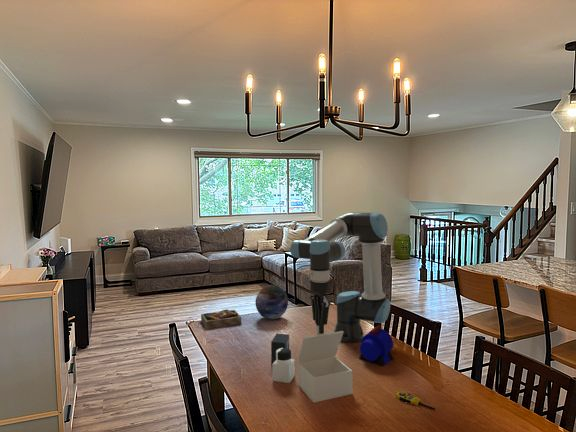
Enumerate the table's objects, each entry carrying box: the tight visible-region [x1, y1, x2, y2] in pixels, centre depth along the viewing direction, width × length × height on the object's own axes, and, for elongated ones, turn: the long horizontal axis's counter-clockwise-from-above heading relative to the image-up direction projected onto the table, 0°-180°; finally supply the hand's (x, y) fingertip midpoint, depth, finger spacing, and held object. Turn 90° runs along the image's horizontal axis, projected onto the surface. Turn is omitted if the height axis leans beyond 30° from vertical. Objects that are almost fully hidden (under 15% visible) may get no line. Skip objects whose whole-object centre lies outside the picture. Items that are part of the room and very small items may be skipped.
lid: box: [296, 331, 344, 364], centre depth 163 cm, size 17×14×1 cm
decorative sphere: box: [255, 284, 289, 321], centre depth 247 cm, size 19×20×20 cm
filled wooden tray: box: [200, 309, 242, 329], centre depth 242 cm, size 20×15×4 cm
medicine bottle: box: [272, 348, 296, 384], centre depth 171 cm, size 7×7×12 cm
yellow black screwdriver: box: [395, 391, 436, 411], centre depth 151 cm, size 5×2×15 cm
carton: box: [297, 356, 353, 403], centre depth 161 cm, size 16×14×9 cm
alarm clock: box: [359, 324, 394, 367], centre depth 187 cm, size 12×12×15 cm
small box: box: [270, 333, 290, 365], centre depth 188 cm, size 11×6×10 cm, turn 168°
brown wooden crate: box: [205, 309, 238, 321], centre depth 242 cm, size 11×16×5 cm
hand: (320, 340), depth 163 cm, fingers closed
